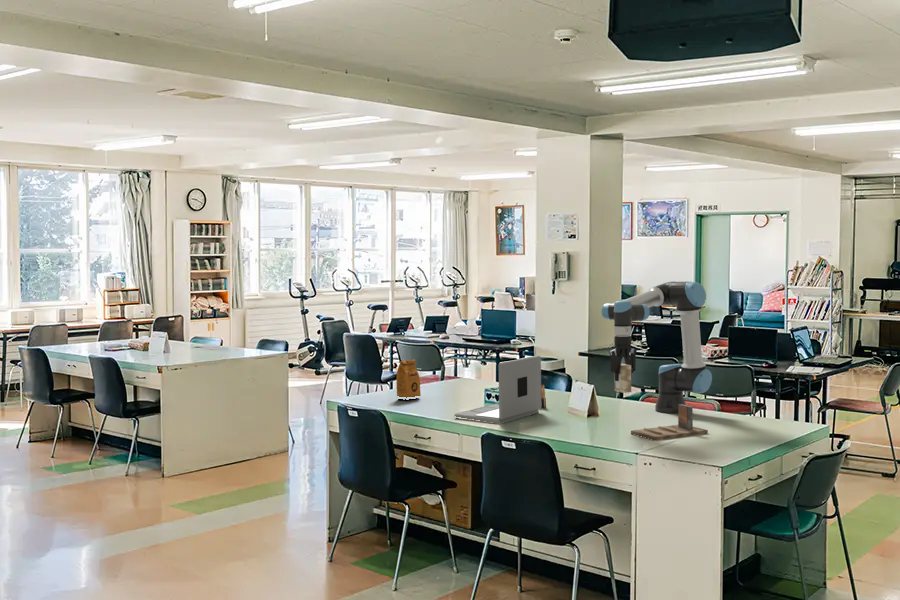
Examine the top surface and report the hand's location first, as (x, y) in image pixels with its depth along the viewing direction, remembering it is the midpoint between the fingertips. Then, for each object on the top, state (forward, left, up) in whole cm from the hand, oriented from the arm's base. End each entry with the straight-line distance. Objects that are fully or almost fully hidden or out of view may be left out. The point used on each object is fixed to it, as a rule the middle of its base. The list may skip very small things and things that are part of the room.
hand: (623, 387), depth 399 cm
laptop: (+31, -59, -19) cm, 69 cm away
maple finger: (0, 0, -2) cm, 2 cm away
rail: (-11, +18, -19) cm, 28 cm away
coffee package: (+49, -128, -19) cm, 138 cm away
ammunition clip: (+1, -71, -19) cm, 74 cm away
